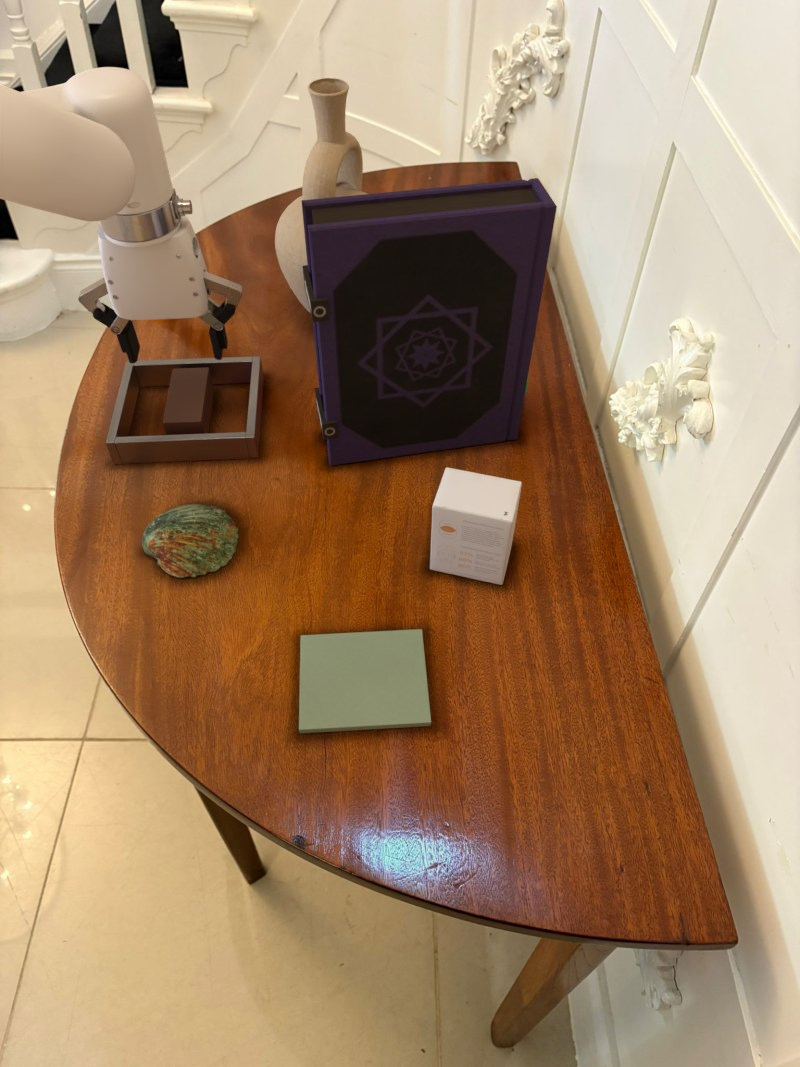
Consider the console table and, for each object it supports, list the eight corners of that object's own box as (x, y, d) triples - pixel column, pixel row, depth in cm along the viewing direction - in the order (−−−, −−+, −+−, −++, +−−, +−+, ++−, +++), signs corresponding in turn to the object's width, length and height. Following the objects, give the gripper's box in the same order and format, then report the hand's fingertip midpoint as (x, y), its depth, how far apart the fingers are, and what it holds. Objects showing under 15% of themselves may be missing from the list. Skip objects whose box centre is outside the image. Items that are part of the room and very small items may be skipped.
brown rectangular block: (169, 447, 94) (162, 422, 91) (179, 393, 100) (172, 368, 97) (207, 446, 94) (201, 421, 91) (214, 391, 100) (208, 367, 97)
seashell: (234, 545, 79) (133, 559, 78) (241, 571, 82) (144, 585, 81) (231, 479, 86) (138, 492, 84) (237, 506, 89) (148, 518, 87)
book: (503, 408, 98) (537, 174, 75) (518, 442, 95) (558, 207, 71) (319, 434, 95) (295, 197, 72) (326, 470, 91) (304, 232, 68)
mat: (299, 733, 70) (298, 729, 70) (301, 639, 77) (300, 635, 76) (430, 726, 71) (431, 722, 70) (421, 633, 77) (422, 628, 77)
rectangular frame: (113, 464, 92) (105, 443, 89) (133, 382, 101) (126, 360, 99) (258, 458, 93) (254, 437, 90) (264, 377, 102) (260, 356, 99)
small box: (512, 547, 84) (524, 480, 76) (502, 587, 81) (514, 522, 73) (440, 531, 86) (445, 464, 77) (427, 570, 82) (431, 504, 74)
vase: (381, 354, 105) (378, 124, 82) (266, 334, 108) (232, 106, 85) (412, 287, 115) (417, 65, 92) (306, 270, 118) (285, 51, 95)
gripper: (230, 191, 79) (254, 331, 92) (57, 197, 78) (107, 337, 91) (224, 231, 74) (251, 372, 87) (40, 237, 73) (95, 378, 87)
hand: (177, 354), depth 89 cm, fingers open, 9 cm apart
